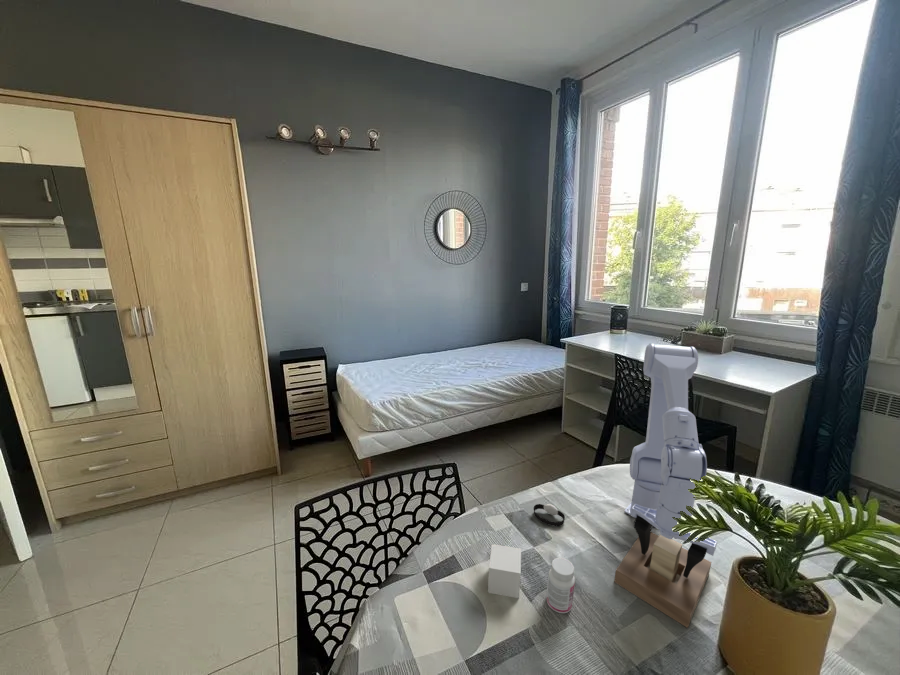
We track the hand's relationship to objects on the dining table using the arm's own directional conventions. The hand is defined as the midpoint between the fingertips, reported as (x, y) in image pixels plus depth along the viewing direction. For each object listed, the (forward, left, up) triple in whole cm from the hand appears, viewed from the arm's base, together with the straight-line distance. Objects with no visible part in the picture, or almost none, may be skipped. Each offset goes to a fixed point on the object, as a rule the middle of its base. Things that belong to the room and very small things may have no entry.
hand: (664, 562), depth 75 cm
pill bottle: (+20, -12, -4) cm, 24 cm away
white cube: (+24, -22, -4) cm, 33 cm away
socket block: (0, 0, -4) cm, 4 cm away
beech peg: (0, 0, -4) cm, 4 cm away
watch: (+2, -25, -4) cm, 26 cm away
